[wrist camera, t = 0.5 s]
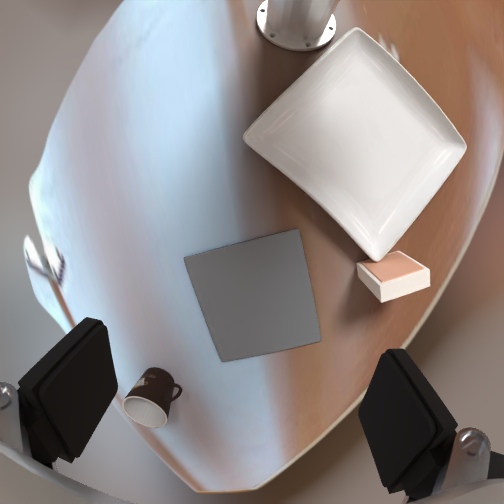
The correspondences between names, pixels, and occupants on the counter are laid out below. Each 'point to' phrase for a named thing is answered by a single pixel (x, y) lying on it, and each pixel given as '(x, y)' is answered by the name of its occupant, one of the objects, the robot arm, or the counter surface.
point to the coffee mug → (151, 398)
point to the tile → (393, 276)
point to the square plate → (360, 141)
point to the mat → (256, 295)
